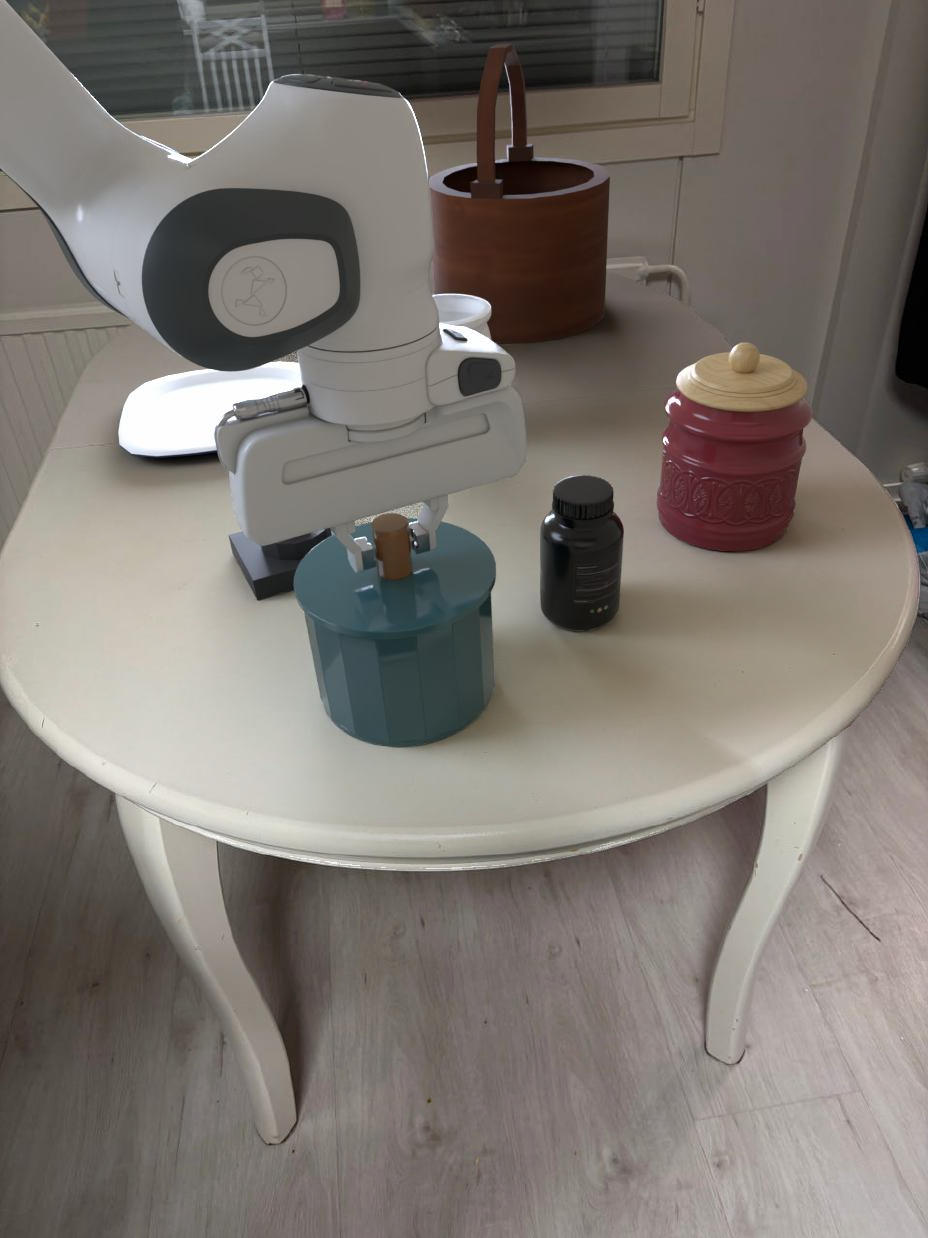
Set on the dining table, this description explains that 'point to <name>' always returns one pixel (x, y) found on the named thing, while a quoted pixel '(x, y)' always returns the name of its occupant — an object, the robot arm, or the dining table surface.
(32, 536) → the dining table surface
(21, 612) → the dining table surface
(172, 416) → the plate
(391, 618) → the jar lid
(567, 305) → the wooden bucket
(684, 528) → the kitchen canister
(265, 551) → the box
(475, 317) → the jar
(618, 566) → the supplement bottle
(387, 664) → the storage jar
